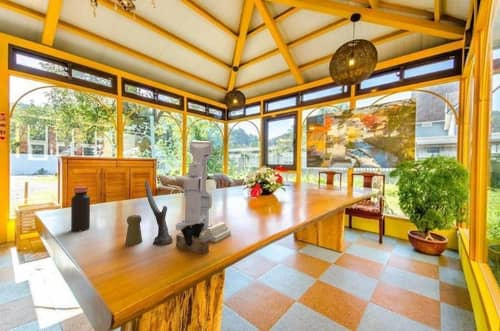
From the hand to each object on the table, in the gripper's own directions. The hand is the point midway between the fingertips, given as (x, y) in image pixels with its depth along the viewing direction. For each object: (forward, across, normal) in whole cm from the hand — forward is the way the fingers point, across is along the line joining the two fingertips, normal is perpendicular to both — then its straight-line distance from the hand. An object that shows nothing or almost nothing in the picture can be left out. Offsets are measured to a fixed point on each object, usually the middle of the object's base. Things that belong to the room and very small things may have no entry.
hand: (192, 243), depth 79 cm
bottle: (+2, -12, +59) cm, 60 cm away
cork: (+2, -8, +24) cm, 25 cm away
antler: (+2, -3, +16) cm, 16 cm away
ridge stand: (+2, +15, 0) cm, 15 cm away
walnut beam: (+2, 0, 0) cm, 2 cm away
